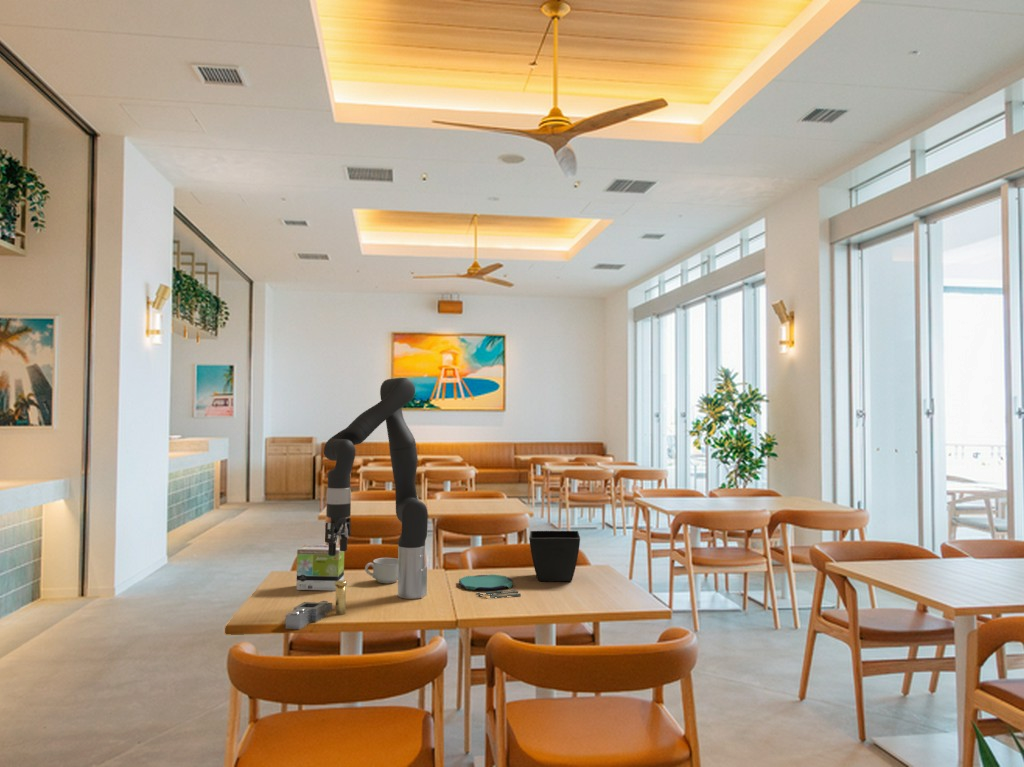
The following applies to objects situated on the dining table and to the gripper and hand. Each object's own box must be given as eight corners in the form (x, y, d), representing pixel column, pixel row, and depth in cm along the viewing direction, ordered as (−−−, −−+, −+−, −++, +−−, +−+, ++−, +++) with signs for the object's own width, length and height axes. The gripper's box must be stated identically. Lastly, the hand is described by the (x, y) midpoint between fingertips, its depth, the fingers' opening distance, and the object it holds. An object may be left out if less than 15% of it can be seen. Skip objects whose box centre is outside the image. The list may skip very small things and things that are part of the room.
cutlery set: (505, 578, 293) (505, 572, 293) (526, 598, 264) (526, 591, 264) (454, 582, 288) (454, 575, 288) (470, 602, 259) (469, 595, 259)
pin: (348, 612, 243) (348, 580, 243) (343, 615, 239) (344, 583, 239) (337, 611, 244) (337, 580, 244) (332, 614, 240) (332, 582, 240)
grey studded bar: (336, 609, 246) (336, 594, 247) (304, 629, 224) (304, 613, 224) (315, 608, 248) (315, 594, 248) (281, 628, 225) (281, 612, 225)
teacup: (399, 577, 293) (399, 556, 294) (404, 583, 283) (404, 562, 283) (362, 580, 289) (362, 558, 289) (366, 586, 279) (366, 564, 279)
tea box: (295, 591, 271) (296, 549, 272) (303, 584, 282) (303, 544, 282) (338, 591, 272) (338, 549, 272) (344, 584, 282) (344, 544, 282)
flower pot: (530, 572, 303) (530, 529, 303) (578, 573, 302) (578, 530, 302) (529, 583, 284) (529, 537, 284) (580, 584, 283) (580, 538, 283)
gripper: (340, 504, 236) (339, 557, 236) (358, 499, 250) (357, 549, 250) (317, 504, 238) (316, 556, 237) (337, 499, 252) (336, 548, 251)
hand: (337, 553), depth 243 cm, fingers open, 8 cm apart
